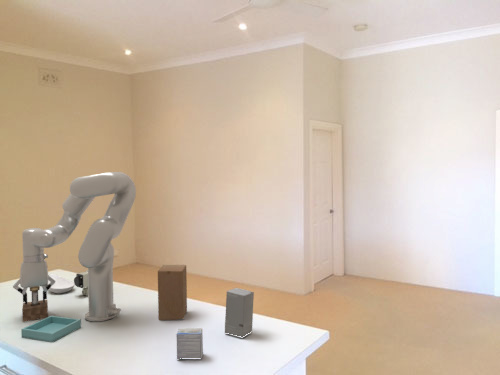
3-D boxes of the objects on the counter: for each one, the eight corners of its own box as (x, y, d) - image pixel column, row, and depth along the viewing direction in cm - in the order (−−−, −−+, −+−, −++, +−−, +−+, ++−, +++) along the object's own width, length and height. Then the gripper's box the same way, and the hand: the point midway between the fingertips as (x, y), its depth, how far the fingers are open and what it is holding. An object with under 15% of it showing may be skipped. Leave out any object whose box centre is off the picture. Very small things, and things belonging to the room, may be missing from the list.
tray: (80, 327, 156) (80, 319, 156) (52, 342, 143) (52, 333, 143) (51, 323, 160) (51, 315, 160) (21, 337, 147) (21, 329, 147)
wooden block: (183, 320, 162) (182, 270, 161) (158, 320, 162) (157, 270, 161) (187, 311, 172) (186, 264, 171) (163, 311, 172) (162, 264, 171)
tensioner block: (47, 311, 174) (47, 299, 174) (48, 317, 166) (47, 305, 166) (23, 314, 170) (23, 302, 170) (22, 321, 162) (22, 309, 162)
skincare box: (224, 334, 148) (223, 291, 147) (235, 327, 154) (235, 286, 153) (243, 339, 144) (243, 295, 143) (254, 332, 149) (254, 290, 149)
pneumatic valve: (101, 292, 199) (101, 268, 198) (79, 299, 190) (78, 273, 189) (95, 290, 202) (94, 266, 202) (73, 296, 193) (72, 271, 192)
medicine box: (203, 353, 133) (202, 327, 133) (201, 360, 129) (201, 333, 128) (178, 354, 133) (178, 328, 132) (176, 360, 128) (176, 333, 128)
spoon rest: (79, 291, 202) (79, 277, 202) (56, 297, 193) (55, 282, 193) (55, 283, 217) (55, 270, 216) (32, 288, 207) (32, 274, 207)
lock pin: (42, 315, 169) (41, 286, 168) (35, 318, 166) (34, 288, 165) (35, 314, 170) (34, 285, 169) (28, 317, 167) (27, 287, 166)
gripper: (56, 254, 174) (58, 296, 175) (9, 259, 166) (11, 302, 167) (57, 258, 167) (58, 301, 168) (8, 262, 159) (10, 308, 160)
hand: (35, 301), depth 168 cm, fingers open, 5 cm apart
